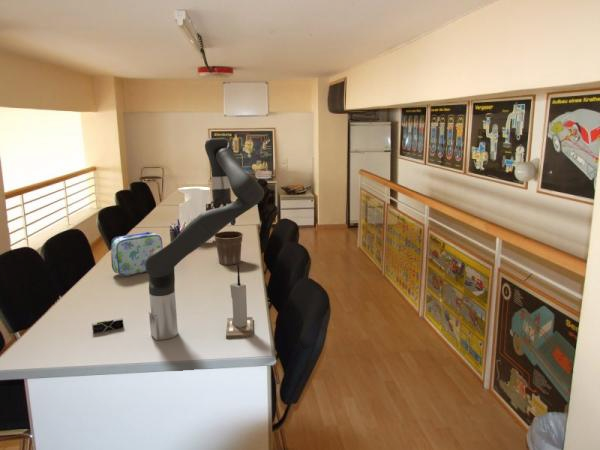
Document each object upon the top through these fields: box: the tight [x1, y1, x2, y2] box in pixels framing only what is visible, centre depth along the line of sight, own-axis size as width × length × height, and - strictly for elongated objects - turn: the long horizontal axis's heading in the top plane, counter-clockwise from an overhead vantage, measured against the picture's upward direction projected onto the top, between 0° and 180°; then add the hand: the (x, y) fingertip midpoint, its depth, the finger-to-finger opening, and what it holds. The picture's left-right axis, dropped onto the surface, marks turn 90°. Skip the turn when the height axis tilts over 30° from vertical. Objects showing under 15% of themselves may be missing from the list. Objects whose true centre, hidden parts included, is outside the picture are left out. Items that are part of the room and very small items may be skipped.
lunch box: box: [110, 231, 164, 277], centre depth 261 cm, size 26×11×21 cm, turn 131°
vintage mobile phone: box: [229, 263, 248, 328], centre depth 189 cm, size 4×5×25 cm
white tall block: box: [177, 186, 214, 244], centre depth 322 cm, size 35×11×21 cm
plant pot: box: [213, 230, 244, 266], centre depth 276 cm, size 16×16×16 cm
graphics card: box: [91, 317, 125, 334], centre depth 191 cm, size 12×3×5 cm, turn 117°
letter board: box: [225, 316, 254, 339], centre depth 192 cm, size 16×10×1 cm, turn 6°
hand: (223, 226), depth 204 cm, fingers open, 8 cm apart
